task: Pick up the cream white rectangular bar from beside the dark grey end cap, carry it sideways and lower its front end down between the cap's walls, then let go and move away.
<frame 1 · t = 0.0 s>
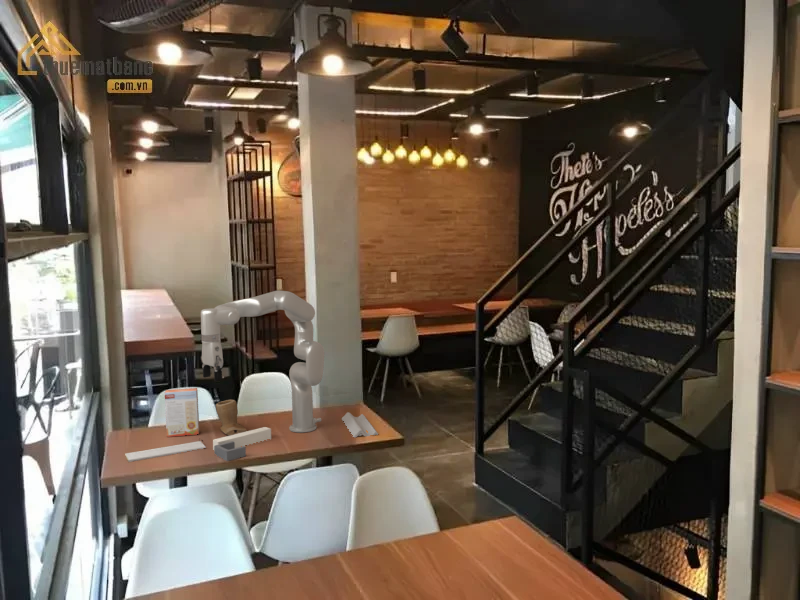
hand: (212, 378, 275), 31 cm above the table, tool pointing down, fingers open, 9 cm apart
baseboard molding: (165, 453, 279), on the table
tan boot: (230, 433, 304), on the table
cream white rectangular bar: (243, 445, 287), on the table
crown molding: (358, 428, 312), on the table
end cap: (230, 455, 272), on the table
cracker box: (183, 434, 302), on the table
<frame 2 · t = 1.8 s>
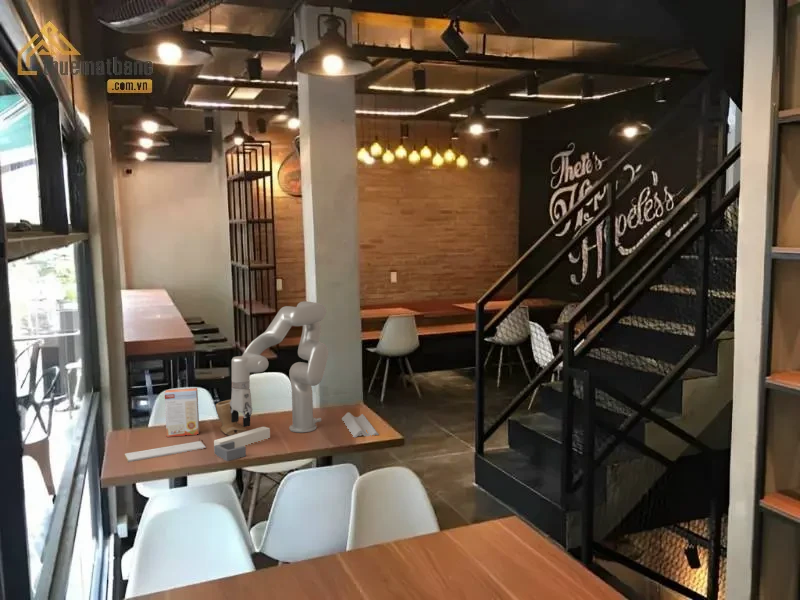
hand: (240, 424, 285), 9 cm above the table, tool pointing down, fingers open, 9 cm apart
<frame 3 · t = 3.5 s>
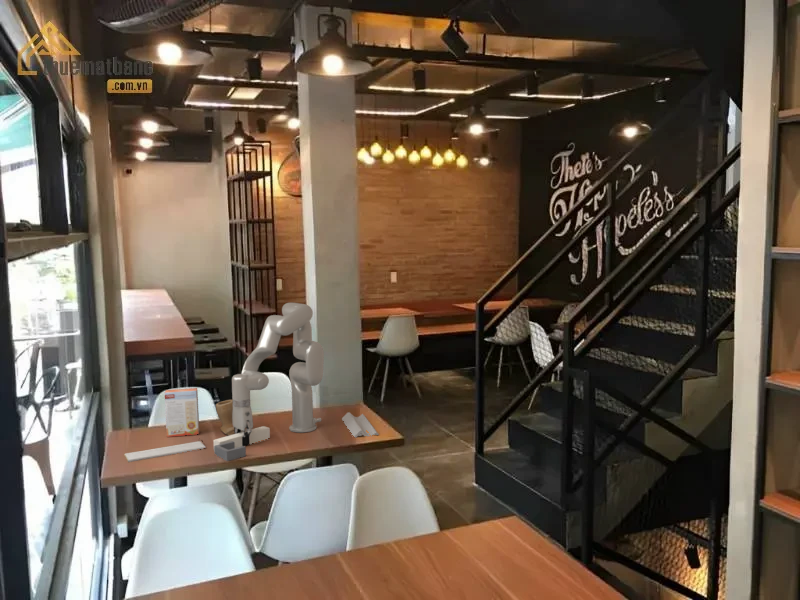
hand: (242, 443, 286), 1 cm above the table, tool pointing down, fingers closed on cream white rectangular bar, 4 cm apart
cream white rectangular bar: (242, 444, 286), on the table, touching gripper
everything else where it was.
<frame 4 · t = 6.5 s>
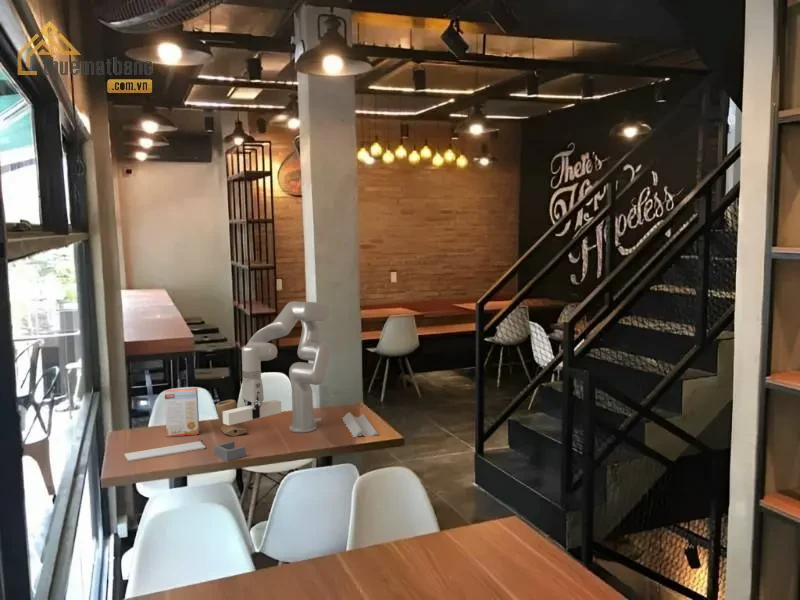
hand: (252, 416, 278), 14 cm above the table, tool pointing down, fingers closed on cream white rectangular bar, 4 cm apart
cream white rectangular bar: (253, 417, 279), point 14 cm above the table, touching gripper
everything else where it was.
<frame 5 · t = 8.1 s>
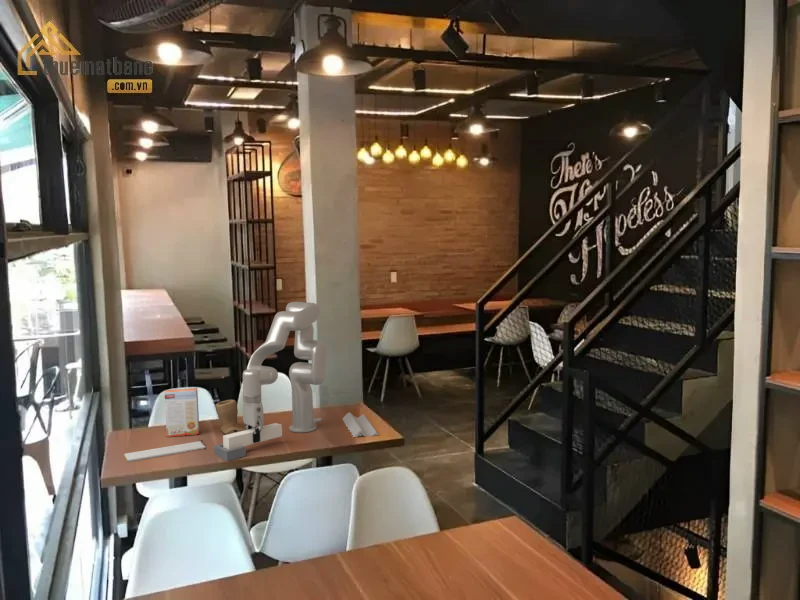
hand: (253, 440, 279), 4 cm above the table, tool pointing down, fingers closed on cream white rectangular bar, 4 cm apart
cream white rectangular bar: (253, 441, 280), point 3 cm above the table, touching gripper
everything else where it was.
when the fingers open (2 cm above the table, at t = 9.4 s): cream white rectangular bar drops 2 cm, on the table.
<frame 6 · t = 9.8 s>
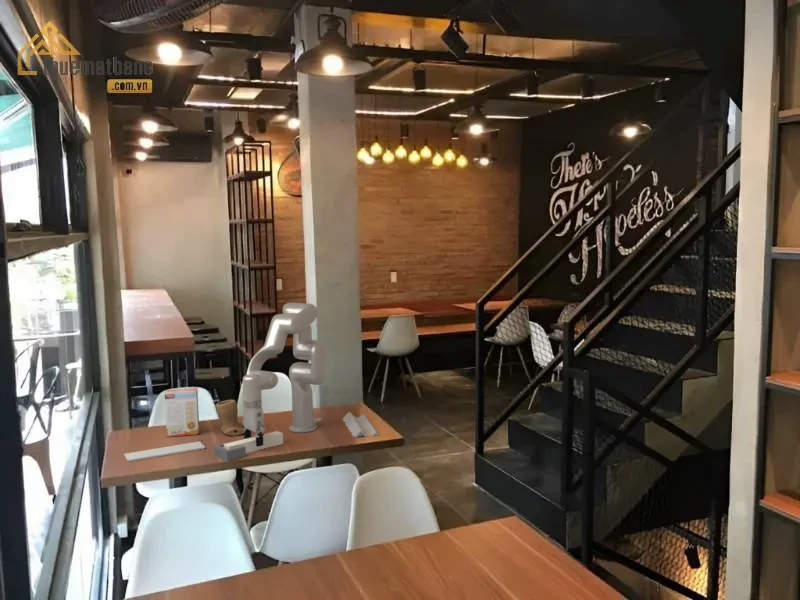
hand: (253, 443, 280), 3 cm above the table, tool pointing down, fingers open, 9 cm apart
cream white rectangular bar: (254, 450, 280), on the table
everything else where it was.
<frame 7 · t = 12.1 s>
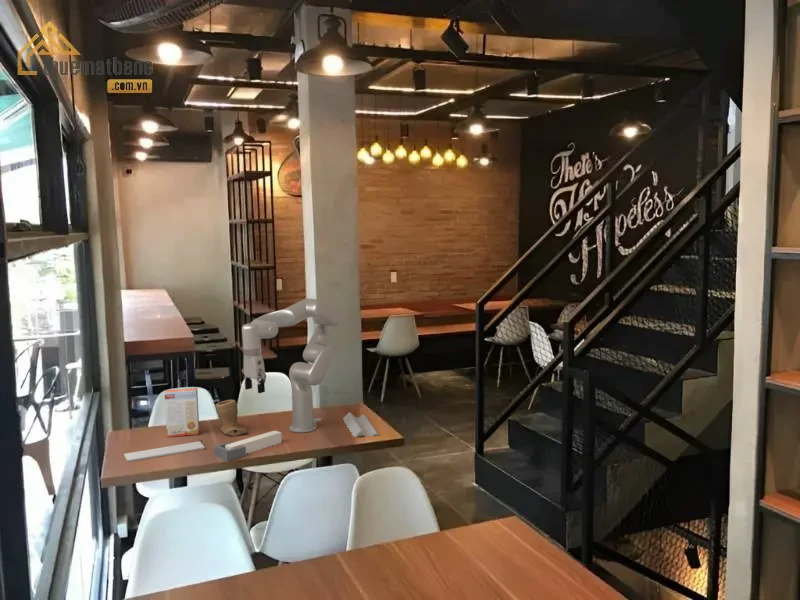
hand: (255, 390, 286), 23 cm above the table, tool pointing down, fingers open, 9 cm apart
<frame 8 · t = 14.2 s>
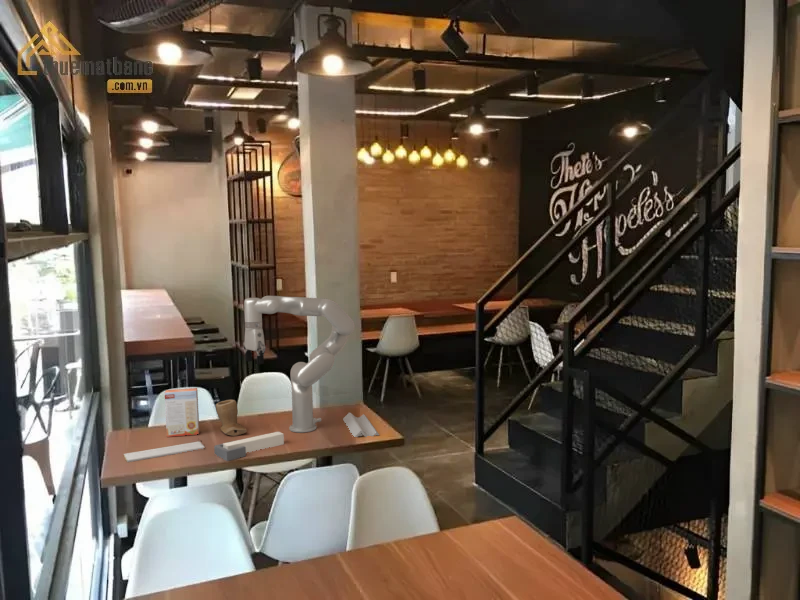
hand: (254, 362, 297), 33 cm above the table, tool pointing down, fingers open, 9 cm apart
at the end: cream white rectangular bar 0.2 cm from the target spot, on the table; cream white rectangular bar tilted 0°; the gripper is holding nothing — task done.
